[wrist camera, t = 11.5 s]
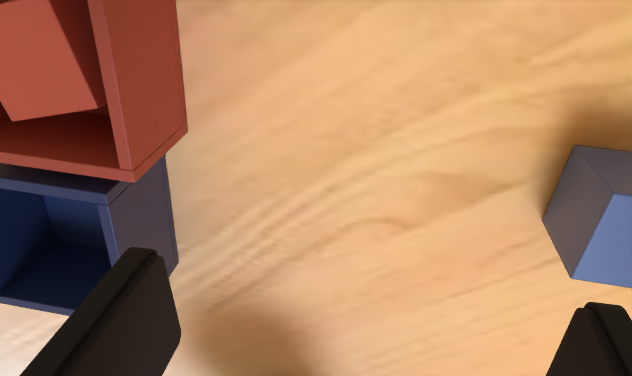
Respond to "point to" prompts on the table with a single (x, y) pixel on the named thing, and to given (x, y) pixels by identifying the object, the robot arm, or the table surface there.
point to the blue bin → (76, 232)
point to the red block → (48, 59)
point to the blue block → (594, 216)
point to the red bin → (113, 100)
